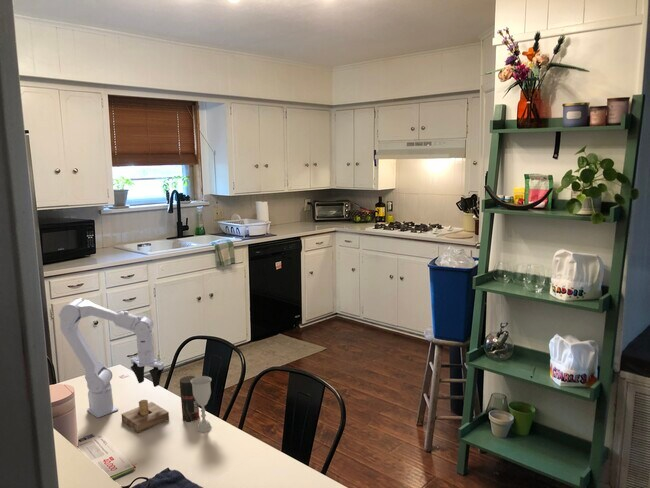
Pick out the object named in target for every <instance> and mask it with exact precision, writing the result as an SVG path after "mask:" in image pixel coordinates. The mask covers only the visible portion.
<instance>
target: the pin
mask: <svg viewBox="0 0 650 488" xmlns="http://www.w3.org/2000/svg"><path fill="white" fill-rule="evenodd" d="M148 403H149V401H148V399H141V400H139V401H138V407H139V409H140V415H141V416H142V417H143V416H146V415H148V414H149V410H148Z"/></svg>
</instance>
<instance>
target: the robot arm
mask: <svg viewBox="0 0 650 488" xmlns="http://www.w3.org/2000/svg"><path fill="white" fill-rule="evenodd" d="M58 317H59V318H60V319H59V321H60V325H59V326H60V327H59V328H60V331H61V333H62V334H63V336H64V338H65V340H66V342H67V343H68V344H69V346H70V347H71V349H72V351H73V353H74V354H75V356H76V357H77V359H78V361H79V362H80V364H81V366H82V368H83V370H84V371H85V372H84V379H85V381H86V384H87V385H86V386H87V389H88V391H87V397H88V398H87V399H88V408H86V411H87V412H89V413H90V414H91V415H93V416H94V417H96V418H98V419H99V418H101V417H104V416H106V415H109V414H112V413H114V412H117V411H119V408H117V407H116V405H114V401H113V391H112V390H113V389H112V384H111V381H112V379H113V372H112V370H110V369H109V368H108V367H107V366H106V364H105V363H103V362H100V361H99V360H98V358H97V356H96V355H95V353H94V351H93V349H92V347H91V346H90V344H89V343H88V341H87V340H86V338H85V336H84V334H83V333H82V330H81V329H80V328H79V325H80V322H81V320H82V319H85V318H87V317H96V318H99V319H102V320H103V319H104V320H107V321H111V322H112V323H114V325H115V327H119V328H122V329H125V330H128V331H130V332H133V333H134V335H135V336H136V345H137V346H136V348H137V357H132V358H130V364H131V365H130V369H131V370H132V372H133V373H134V375H135V377H136V380H137V382H138V384H142V383H143V382H144V381H145V367H150V368H151V369H150V370H149V374H150V376H151V379H152V385H153V387H154V388H156V387H158V386H160V382H161V381H160V380H161V376H162V374H163V372H164V370H165V366H164V362H161V361H159V360H157V359H156V357H155V348H154V336H153V327H154V322H153V321H154V320H153V319H152V318H150V317H149V316H147V315H146V316H145V315H143V316H141V315H135V314H134V313H129V311H128V310H124V311H123V310H121V311H118V312H116V311H114V310H112V309H109V308H106V307H104V306H101V305H99V304H96V303H94V302H92V301H91V300H89V299H84V298H81V297H76V298H73V299H72V300H71V301H70V302H68V304H65V305H63V306H62V308H61V310H60V312H59V313H58Z"/></svg>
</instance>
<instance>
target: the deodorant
mask: <svg viewBox="0 0 650 488" xmlns="http://www.w3.org/2000/svg"><path fill="white" fill-rule="evenodd" d="M195 377H196V376H194V375H186V376H183V377H180V378H179V390H180V403H181V414H182V415H181V416H182V421H184V422H185V421H186V423H192V422H191V421H193V422H196V421H198V420H199V419H198V418H200V408H199V407H200V406H199V405H198V403H197V402H196V400H195V398H194V396H193V389H192V384H191V382H190V381H191V379H193V378H195ZM195 420H196V421H195Z"/></svg>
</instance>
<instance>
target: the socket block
mask: <svg viewBox="0 0 650 488" xmlns="http://www.w3.org/2000/svg"><path fill="white" fill-rule="evenodd" d="M148 410H149V414H148V415H146V416H143V417H142V416H141V415H140V409H139V406H137V407H135V408H132V409H129V410H127V411H125V412H123V413H121V414H120V415H121V416H120V417H121V422H122V423H124V424H125V425H126V426H128V427H129V428H131V429H132V430H133V431H135V432H136V433H137V434H139V433H142V432H143V431H146V430H148V429H150V428H153V427H156V426H157V425H160V424H162V423H165V422H167V421H169V420H170V414H169V413H170V412H169V411H167V410H166V409H164V408H163V407H161V406H159V405H158V404H156V403H155V402H153V401H151V402H150V401H149V402H148Z"/></svg>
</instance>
